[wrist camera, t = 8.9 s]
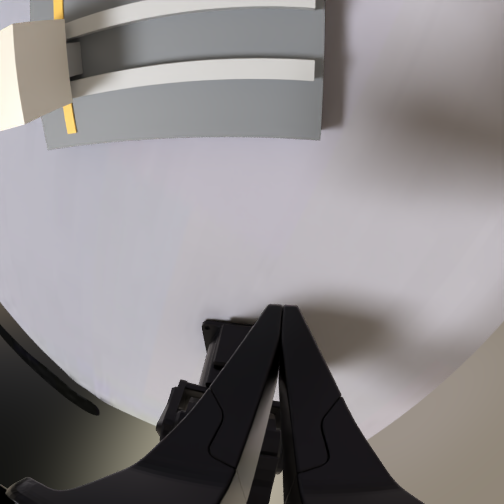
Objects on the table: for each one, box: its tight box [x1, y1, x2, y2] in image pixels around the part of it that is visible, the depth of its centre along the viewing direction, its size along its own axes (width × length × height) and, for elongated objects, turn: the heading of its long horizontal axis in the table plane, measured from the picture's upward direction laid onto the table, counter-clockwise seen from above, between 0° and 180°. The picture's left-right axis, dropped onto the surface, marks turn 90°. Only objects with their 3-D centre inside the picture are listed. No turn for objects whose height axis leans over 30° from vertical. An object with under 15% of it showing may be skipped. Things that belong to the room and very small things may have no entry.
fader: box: [0, 19, 83, 131], centre depth 12 cm, size 5×3×5 cm, turn 1°
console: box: [30, 0, 325, 150], centre depth 14 cm, size 11×17×3 cm, turn 91°
